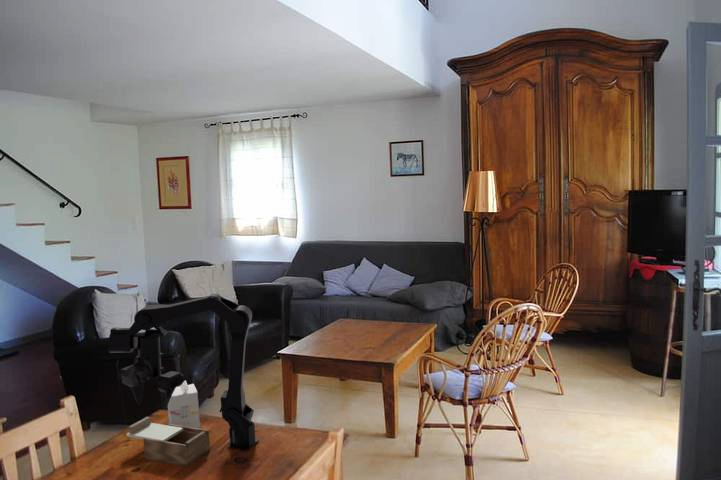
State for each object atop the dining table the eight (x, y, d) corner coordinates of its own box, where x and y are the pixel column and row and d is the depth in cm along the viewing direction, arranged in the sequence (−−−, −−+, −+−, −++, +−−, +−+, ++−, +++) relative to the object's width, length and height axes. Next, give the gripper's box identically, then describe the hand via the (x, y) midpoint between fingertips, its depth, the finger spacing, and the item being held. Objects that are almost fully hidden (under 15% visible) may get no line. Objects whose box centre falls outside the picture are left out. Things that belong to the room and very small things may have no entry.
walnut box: (210, 450, 163) (208, 429, 162) (186, 467, 154) (184, 445, 153) (170, 443, 168) (168, 423, 167) (145, 459, 159) (143, 438, 158)
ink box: (168, 424, 182) (165, 382, 180) (195, 418, 185) (193, 377, 184) (172, 434, 174) (168, 391, 173) (200, 428, 178) (197, 386, 176)
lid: (183, 430, 164) (182, 421, 164) (163, 442, 157) (162, 433, 157) (147, 424, 169) (147, 415, 169) (126, 436, 162) (125, 427, 162)
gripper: (101, 355, 158) (104, 411, 159) (154, 364, 150) (156, 422, 152) (132, 345, 168) (134, 397, 169) (183, 352, 160) (185, 407, 162)
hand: (151, 406), depth 163 cm, fingers open, 9 cm apart
